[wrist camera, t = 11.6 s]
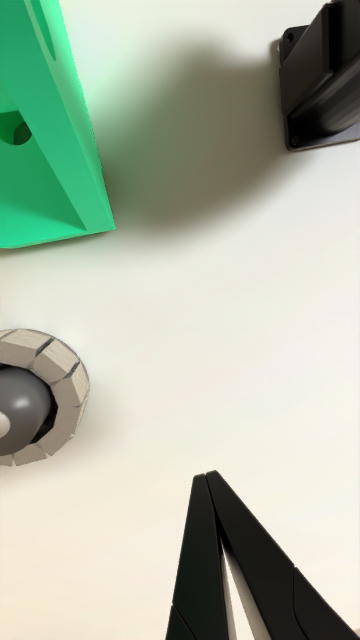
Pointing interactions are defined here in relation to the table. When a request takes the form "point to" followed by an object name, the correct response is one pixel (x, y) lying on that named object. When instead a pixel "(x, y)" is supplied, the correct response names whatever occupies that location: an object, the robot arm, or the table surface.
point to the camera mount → (45, 133)
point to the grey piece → (64, 379)
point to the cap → (21, 407)
